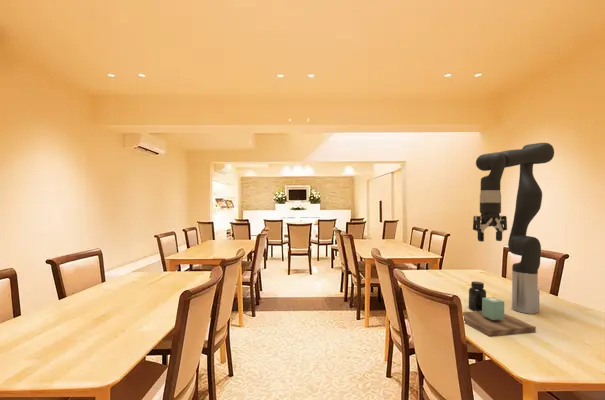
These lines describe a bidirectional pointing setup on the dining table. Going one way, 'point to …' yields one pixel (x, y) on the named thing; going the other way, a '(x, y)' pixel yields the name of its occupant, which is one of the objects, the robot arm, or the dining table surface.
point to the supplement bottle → (476, 295)
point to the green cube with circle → (493, 308)
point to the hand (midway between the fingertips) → (489, 241)
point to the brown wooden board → (497, 324)
